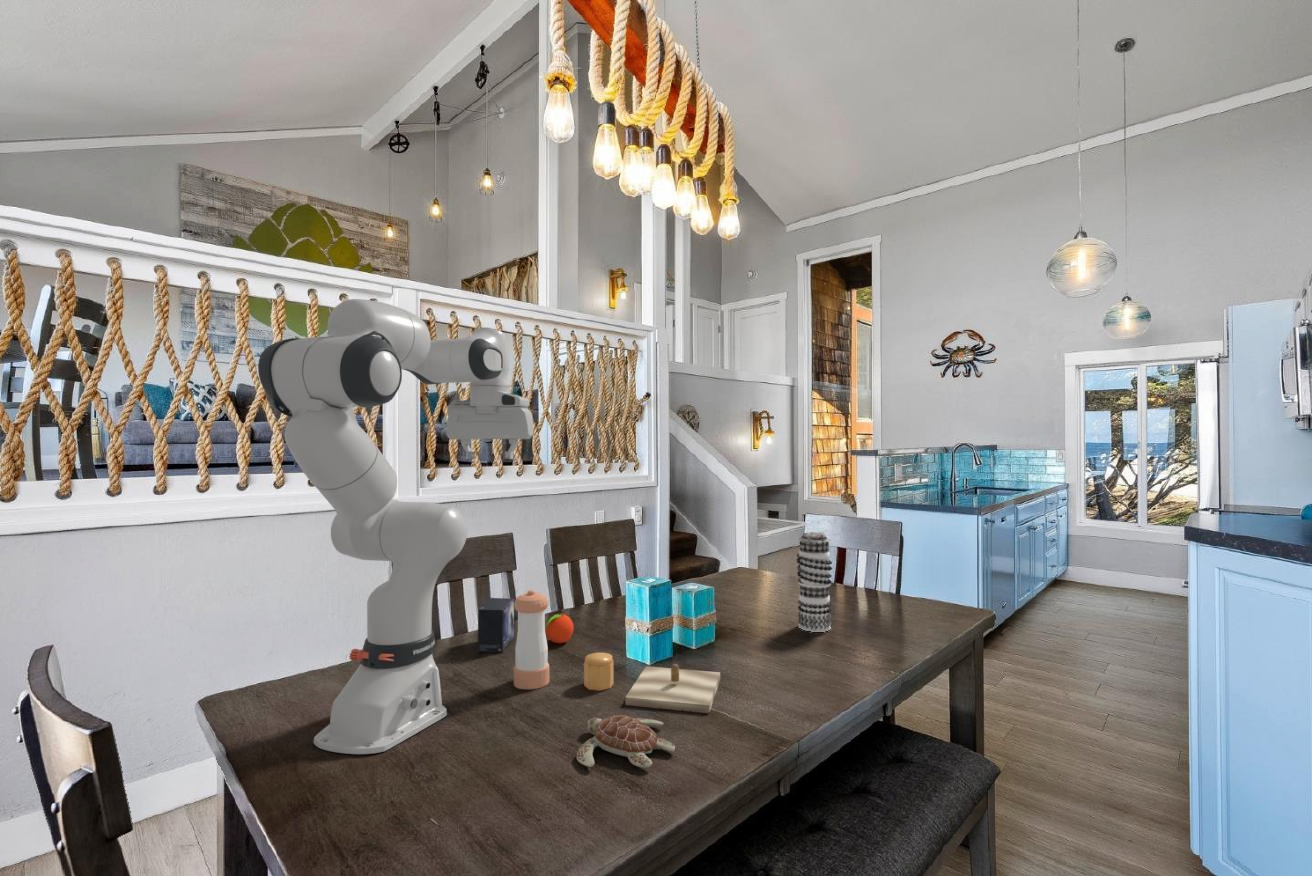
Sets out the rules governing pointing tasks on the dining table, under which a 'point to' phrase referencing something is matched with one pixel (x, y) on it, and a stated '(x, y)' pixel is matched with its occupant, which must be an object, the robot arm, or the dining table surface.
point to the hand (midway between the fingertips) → (489, 459)
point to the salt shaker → (531, 642)
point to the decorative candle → (814, 582)
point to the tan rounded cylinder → (598, 671)
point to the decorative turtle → (623, 739)
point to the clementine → (559, 628)
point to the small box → (495, 625)
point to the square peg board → (674, 689)
